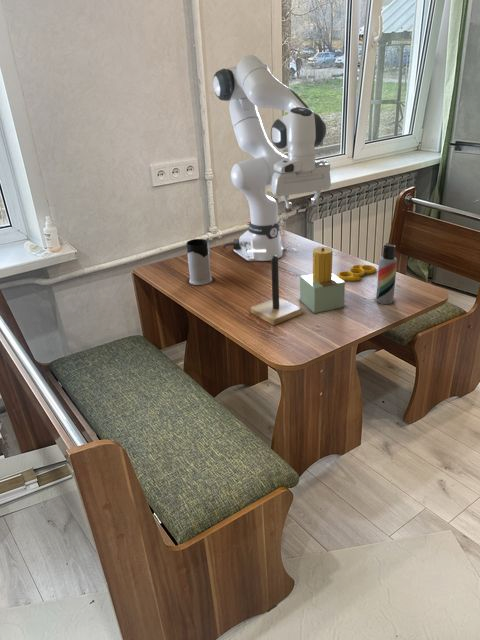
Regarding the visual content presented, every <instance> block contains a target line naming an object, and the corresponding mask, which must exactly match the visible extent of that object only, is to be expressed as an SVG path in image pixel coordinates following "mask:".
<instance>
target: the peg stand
mask: <svg viewBox="0 0 480 640" xmlns="http://www.w3.org/2000/svg"><path fill="white" fill-rule="evenodd" d="M270 264H271V265H270V266H271V267H270V269H271V299H269V300H266V301H264V302H261V303H258V304H256V305H253V306H250V314H252V315H254V316H256V317H257V318H259V319H261V320H262V321H265V322H267V323H268V324H270V325H272V326H275V325H279V324H280V323H283V322H285V321H287V320H290V319H292V318H295V317H297V316H299V315H301V314H303V309H302V307H300V306H298V305H296V304H294V303H292V302H290V301H288V300H286V299H284V298H282V297H280V280H279V277H280V276H279V275H280V274H279V258H278V257H277V256H276V255H274V256H272V257H271V260H270Z"/></svg>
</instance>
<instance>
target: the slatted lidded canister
mask: <svg viewBox="0 0 480 640" xmlns="http://www.w3.org/2000/svg"><path fill="white" fill-rule="evenodd" d="M332 273H333V249H332V248H331V247H328V246H318V247H314V248H313V250H312V274H313V280H314V281H315V282H319V284H321V285H322V286H323V287H326V286H331V285H336V284H337V283H336V282H335V281H334V280H332Z"/></svg>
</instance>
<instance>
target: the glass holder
mask: <svg viewBox="0 0 480 640" xmlns="http://www.w3.org/2000/svg"><path fill="white" fill-rule="evenodd" d="M186 251H187V254H186V255H187V263H188V271H189V272H188V273H189V280H188V283H189V284H191V285H193V286H204V285H208V284H210V283H212V281H213V277H212V276H211V275H212V274H211V264H210V255H211V241H210V239H209V238H204V239H203V238H193V239H190V240H187V241H186Z"/></svg>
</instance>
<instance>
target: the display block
mask: <svg viewBox="0 0 480 640" xmlns="http://www.w3.org/2000/svg"><path fill="white" fill-rule="evenodd" d="M332 280H334V281H335V282H336V283H337V284H336V285H331V286H326V287H323V286H322V285H321V284H319V282H315V281H314V280H313V273H309V274H304V275H300V276H299V301H300V302H301V303H302V304H303V305H304V306H306V307H307V308H308V309H309V310H310V311H311V312H312V313H314V314H317V313H323V312H326V311H331V310H336V309H340V308H341V309H342V308H344V307H345V289H346V281H345V280H341V279H340V278H339V277H337V275H336V274H335V273H333V272H332Z"/></svg>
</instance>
